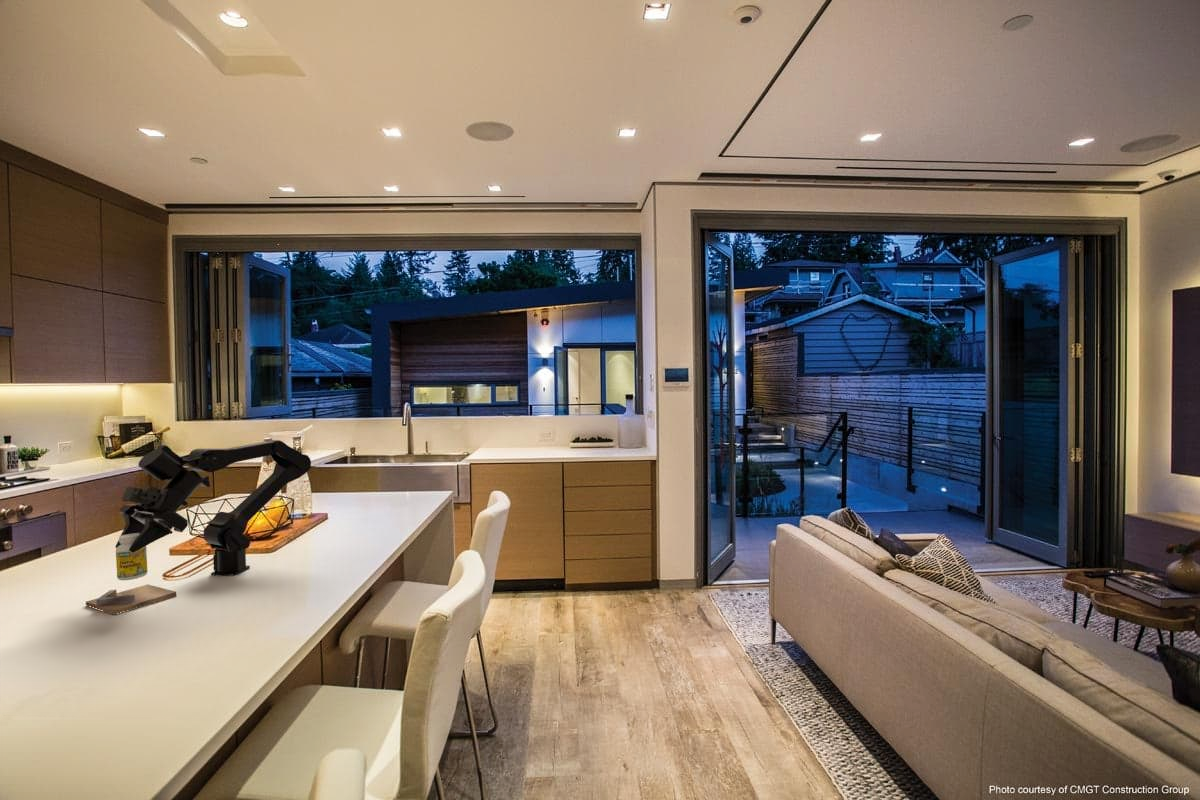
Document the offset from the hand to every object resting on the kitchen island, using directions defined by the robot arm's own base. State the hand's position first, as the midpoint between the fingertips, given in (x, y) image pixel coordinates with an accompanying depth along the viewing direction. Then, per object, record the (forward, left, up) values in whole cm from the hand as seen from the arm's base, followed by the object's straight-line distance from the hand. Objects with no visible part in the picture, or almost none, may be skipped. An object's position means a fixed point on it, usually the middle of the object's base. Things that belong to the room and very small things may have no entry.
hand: (124, 549), depth 127 cm
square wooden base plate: (0, -1, -12) cm, 12 cm away
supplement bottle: (-1, -1, -7) cm, 7 cm away
